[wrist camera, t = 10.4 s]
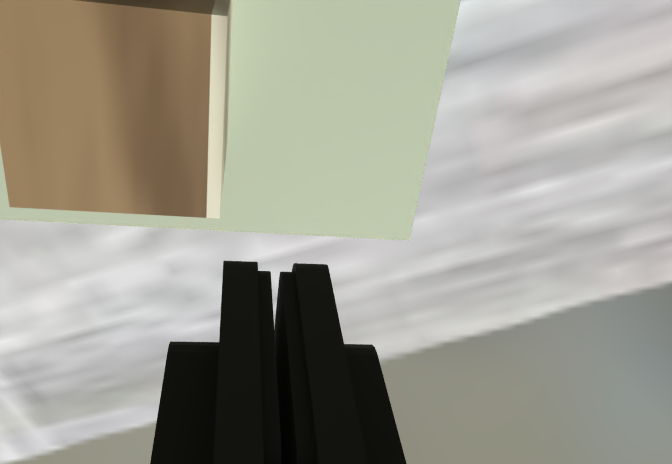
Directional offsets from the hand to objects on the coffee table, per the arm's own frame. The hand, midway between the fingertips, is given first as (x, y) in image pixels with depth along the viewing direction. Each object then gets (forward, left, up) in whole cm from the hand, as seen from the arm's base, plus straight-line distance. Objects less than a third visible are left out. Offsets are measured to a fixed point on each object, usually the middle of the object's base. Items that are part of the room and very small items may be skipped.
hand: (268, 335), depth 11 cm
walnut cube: (+1, 0, -12) cm, 12 cm away
